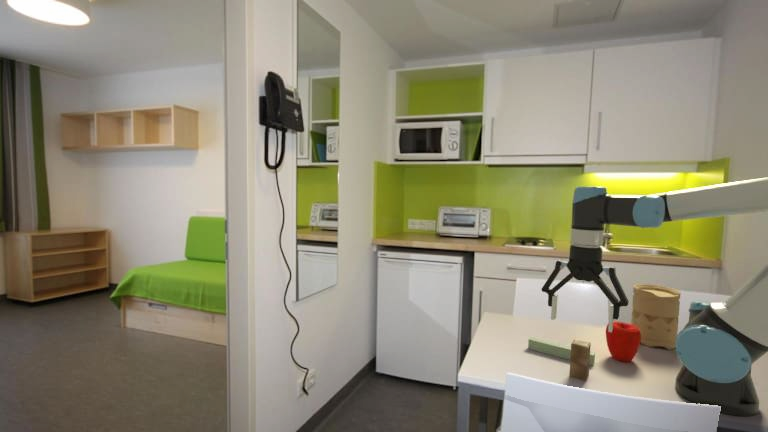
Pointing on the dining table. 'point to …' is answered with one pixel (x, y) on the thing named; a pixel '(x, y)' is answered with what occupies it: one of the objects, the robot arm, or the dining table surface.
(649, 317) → the container
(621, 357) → the apple
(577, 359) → the walnut block
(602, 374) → the dining table surface
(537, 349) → the rail
